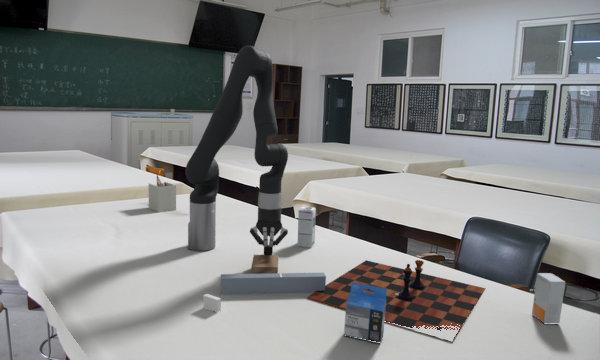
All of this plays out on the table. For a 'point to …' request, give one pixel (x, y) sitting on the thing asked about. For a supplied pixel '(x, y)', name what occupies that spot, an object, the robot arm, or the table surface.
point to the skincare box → (548, 298)
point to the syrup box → (306, 226)
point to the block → (264, 264)
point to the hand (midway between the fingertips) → (268, 256)
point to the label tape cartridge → (365, 312)
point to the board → (272, 283)
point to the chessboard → (407, 295)
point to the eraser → (211, 302)
